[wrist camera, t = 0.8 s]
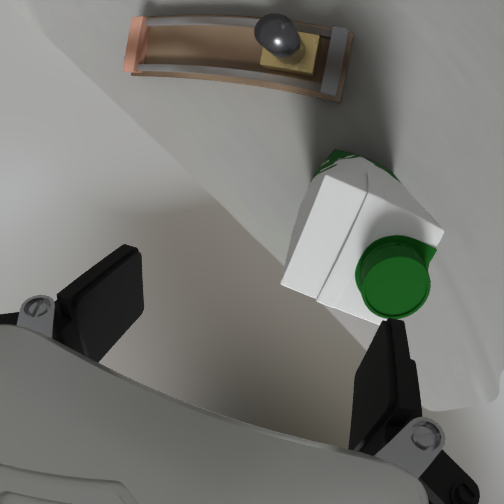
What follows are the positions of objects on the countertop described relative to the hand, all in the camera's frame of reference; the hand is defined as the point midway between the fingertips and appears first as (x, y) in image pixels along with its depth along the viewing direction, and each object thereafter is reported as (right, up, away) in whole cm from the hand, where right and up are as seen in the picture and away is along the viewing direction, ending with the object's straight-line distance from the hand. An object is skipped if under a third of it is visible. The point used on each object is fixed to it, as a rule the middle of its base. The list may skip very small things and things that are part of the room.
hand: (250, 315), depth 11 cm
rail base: (-2, +25, +19) cm, 31 cm away
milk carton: (+11, +9, +22) cm, 27 cm away
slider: (+4, +22, +16) cm, 28 cm away
